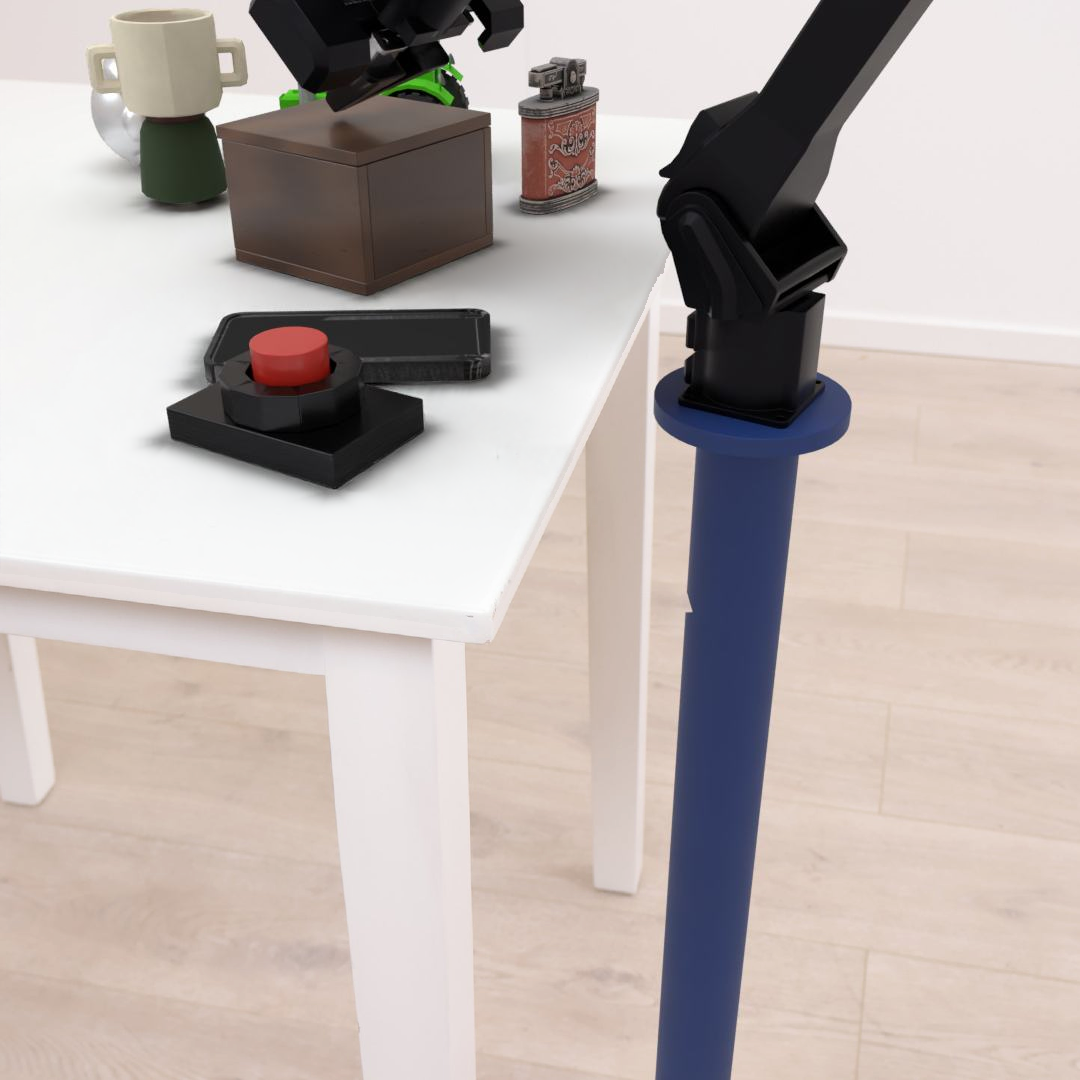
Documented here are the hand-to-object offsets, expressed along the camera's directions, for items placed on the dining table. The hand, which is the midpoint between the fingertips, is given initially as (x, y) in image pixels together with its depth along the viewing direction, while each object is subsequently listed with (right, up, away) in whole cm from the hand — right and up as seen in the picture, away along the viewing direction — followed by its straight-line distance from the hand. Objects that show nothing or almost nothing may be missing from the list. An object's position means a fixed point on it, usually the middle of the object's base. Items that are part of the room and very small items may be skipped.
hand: (333, 105), depth 83 cm
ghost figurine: (-18, +3, +23) cm, 29 cm away
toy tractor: (0, +2, +23) cm, 23 cm away
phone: (+3, -18, -12) cm, 21 cm away
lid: (+1, -2, 0) cm, 2 cm away
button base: (+2, -23, -20) cm, 30 cm away
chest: (+2, -8, +4) cm, 9 cm away
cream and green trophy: (-13, -2, +14) cm, 20 cm away
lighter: (+15, -2, +14) cm, 21 cm away
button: (+2, -20, -22) cm, 30 cm away
